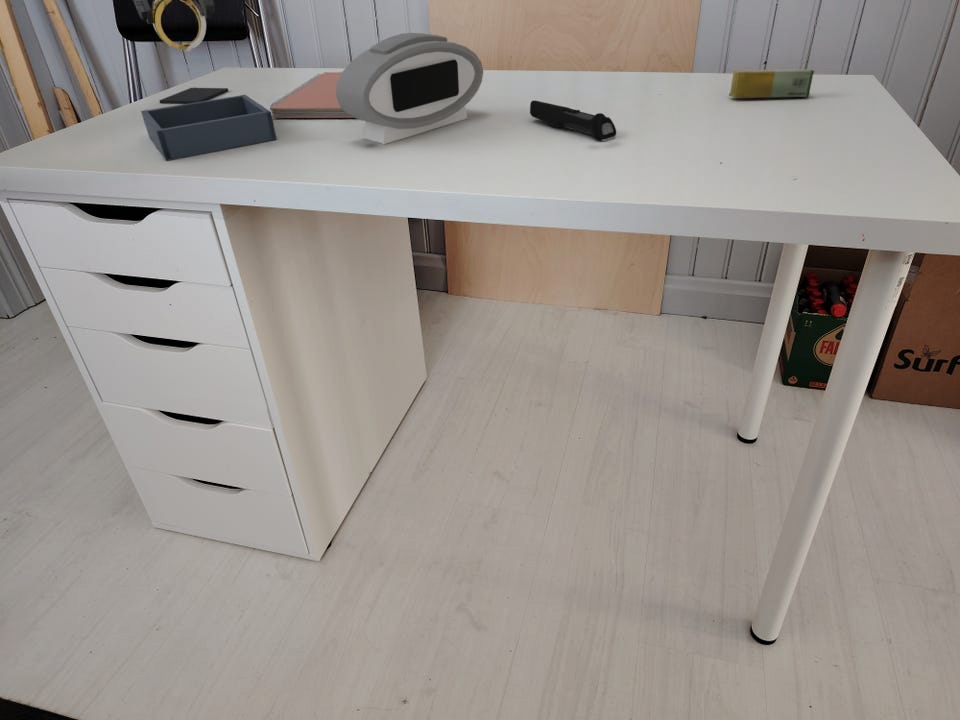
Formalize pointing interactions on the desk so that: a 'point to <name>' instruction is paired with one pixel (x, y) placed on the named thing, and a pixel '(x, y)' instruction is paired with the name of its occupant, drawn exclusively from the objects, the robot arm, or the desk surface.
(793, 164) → the desk surface
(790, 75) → the medication box
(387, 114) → the alarm clock
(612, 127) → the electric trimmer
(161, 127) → the dark blue tray
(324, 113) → the notebook
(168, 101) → the mat
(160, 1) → the ring
